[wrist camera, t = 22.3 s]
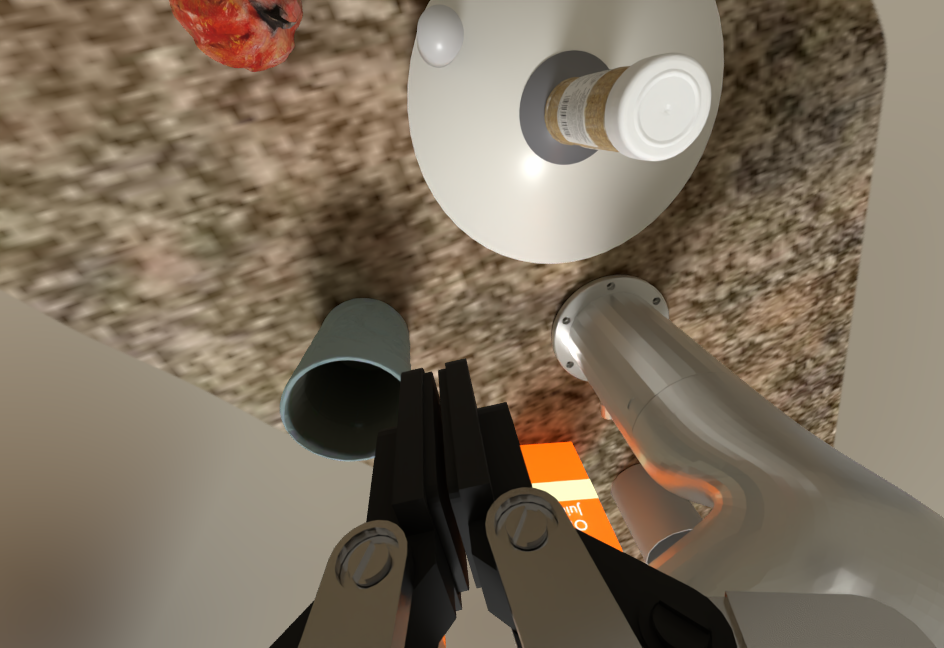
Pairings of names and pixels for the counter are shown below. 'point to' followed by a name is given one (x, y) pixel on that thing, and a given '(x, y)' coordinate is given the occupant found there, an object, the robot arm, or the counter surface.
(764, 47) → the counter surface
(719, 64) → the turntable
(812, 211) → the counter surface
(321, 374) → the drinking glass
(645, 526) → the cup
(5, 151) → the counter surface
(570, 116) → the sprinkles bottle
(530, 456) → the orange juice
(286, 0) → the pomegranate
